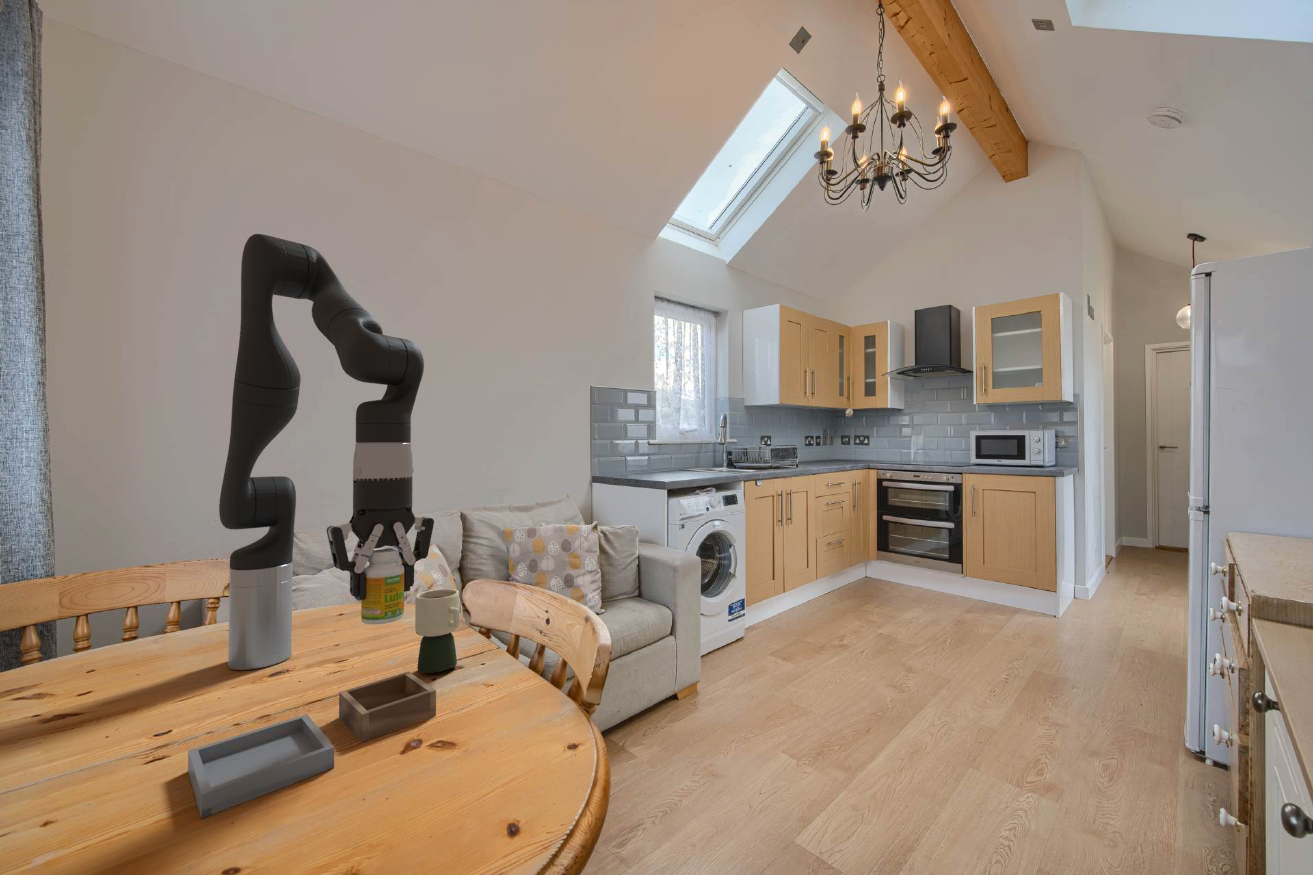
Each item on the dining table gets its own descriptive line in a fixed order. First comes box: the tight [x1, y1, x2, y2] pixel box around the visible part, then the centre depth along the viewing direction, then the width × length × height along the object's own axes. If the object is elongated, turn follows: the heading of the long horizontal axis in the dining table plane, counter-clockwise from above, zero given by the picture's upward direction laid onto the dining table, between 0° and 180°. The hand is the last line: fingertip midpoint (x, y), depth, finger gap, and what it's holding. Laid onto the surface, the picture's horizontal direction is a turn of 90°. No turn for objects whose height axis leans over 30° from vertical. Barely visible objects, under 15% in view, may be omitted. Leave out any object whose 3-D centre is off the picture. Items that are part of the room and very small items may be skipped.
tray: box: [187, 713, 335, 819], centre depth 63 cm, size 12×12×2 cm
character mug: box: [414, 588, 461, 674], centre depth 92 cm, size 11×7×13 cm, turn 59°
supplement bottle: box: [360, 547, 405, 625], centre depth 76 cm, size 5×5×10 cm
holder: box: [338, 671, 437, 743], centre depth 76 cm, size 10×10×4 cm
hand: (382, 594), depth 75 cm, fingers closed on supplement bottle, 5 cm apart
